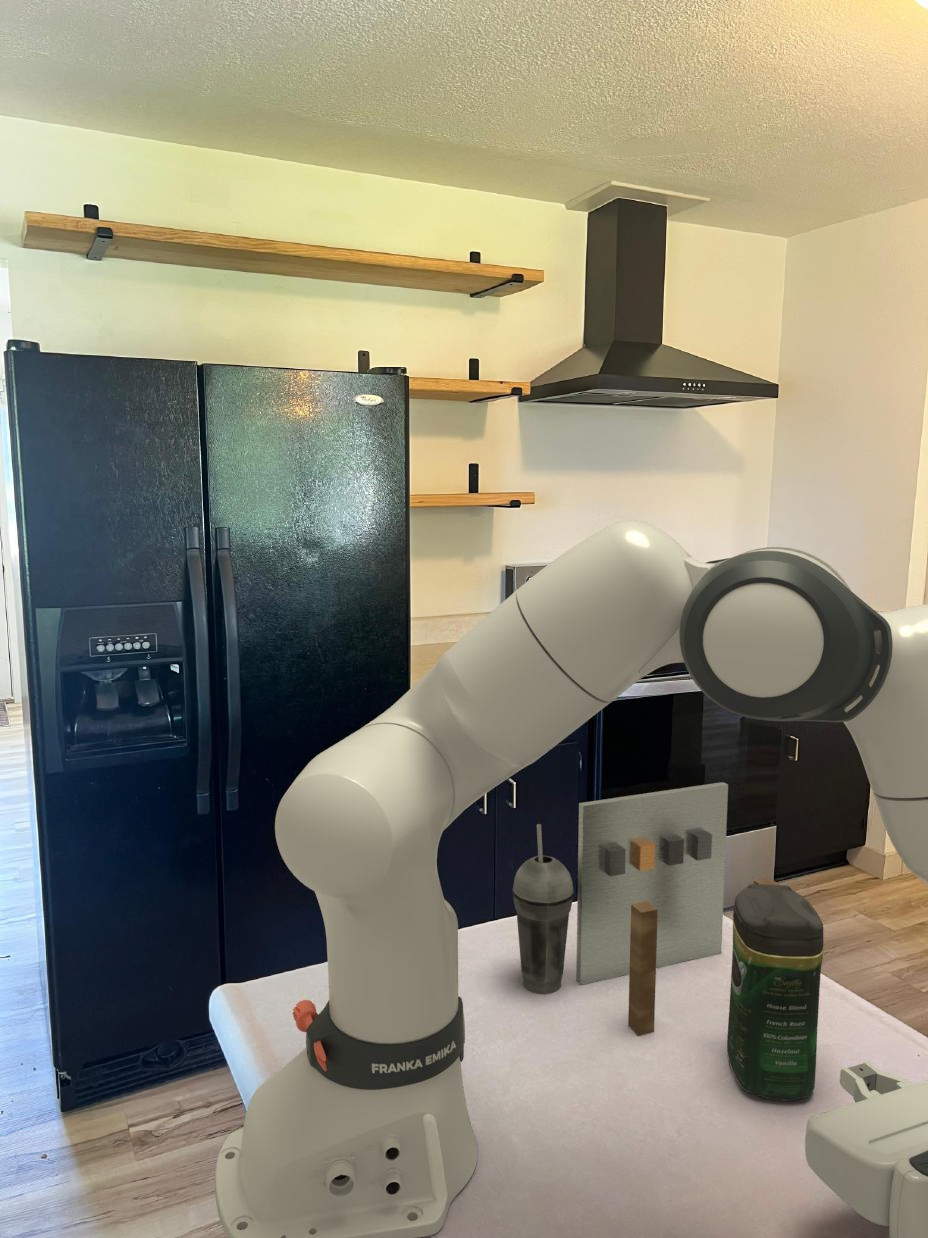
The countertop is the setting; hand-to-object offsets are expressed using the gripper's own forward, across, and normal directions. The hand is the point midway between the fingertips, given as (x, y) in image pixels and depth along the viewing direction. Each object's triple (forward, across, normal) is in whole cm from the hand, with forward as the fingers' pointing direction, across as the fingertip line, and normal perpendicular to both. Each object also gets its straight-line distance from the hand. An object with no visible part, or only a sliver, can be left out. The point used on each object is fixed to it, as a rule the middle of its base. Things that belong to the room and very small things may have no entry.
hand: (852, 1072), depth 79 cm
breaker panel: (+32, 0, +7) cm, 33 cm away
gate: (+22, 0, +7) cm, 23 cm away
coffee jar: (+10, 0, +7) cm, 13 cm away
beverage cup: (+34, +14, +7) cm, 37 cm away
